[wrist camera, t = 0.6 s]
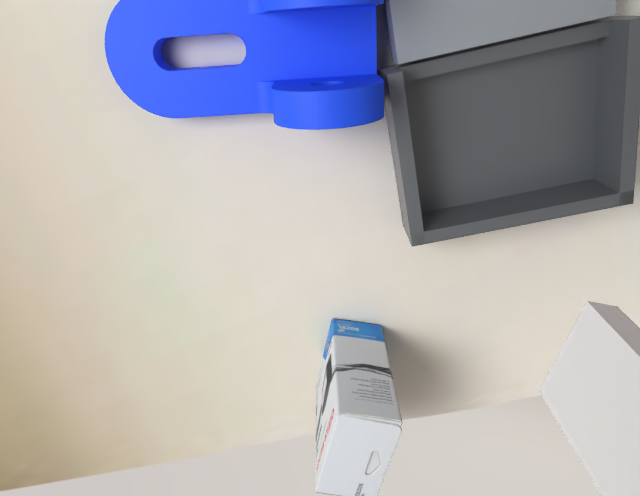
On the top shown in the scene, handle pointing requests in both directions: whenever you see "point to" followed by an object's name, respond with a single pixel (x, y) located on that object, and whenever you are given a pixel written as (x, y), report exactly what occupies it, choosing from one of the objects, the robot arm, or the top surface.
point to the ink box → (355, 411)
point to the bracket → (254, 60)
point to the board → (478, 22)
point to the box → (516, 129)
